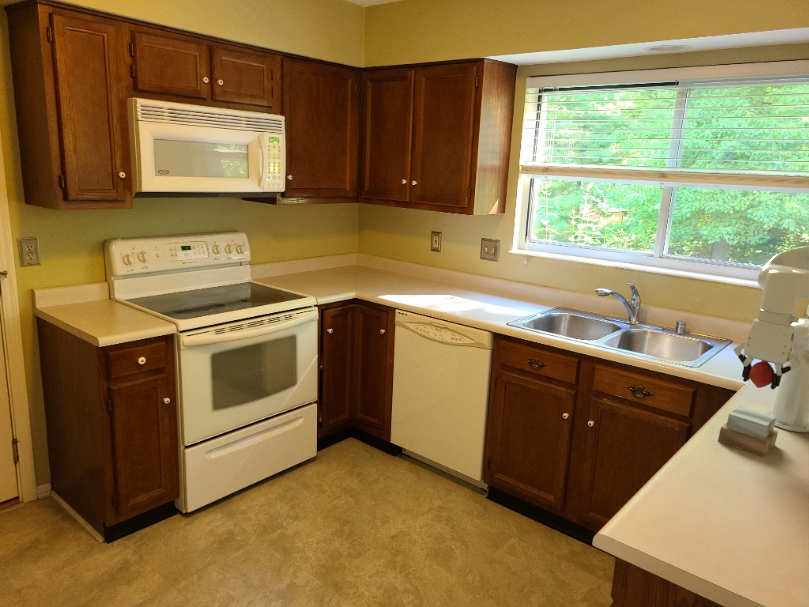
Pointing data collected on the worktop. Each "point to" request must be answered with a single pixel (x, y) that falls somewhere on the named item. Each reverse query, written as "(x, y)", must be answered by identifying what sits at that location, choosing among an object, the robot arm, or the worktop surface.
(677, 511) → the worktop surface
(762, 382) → the onion
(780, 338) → the robot arm
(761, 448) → the wood and metal block
